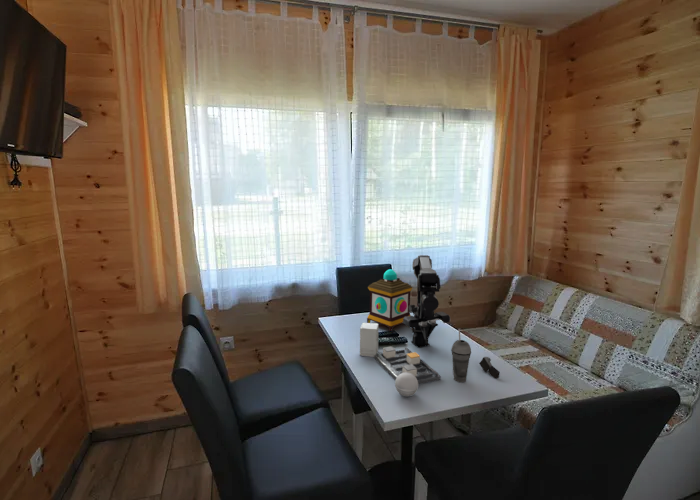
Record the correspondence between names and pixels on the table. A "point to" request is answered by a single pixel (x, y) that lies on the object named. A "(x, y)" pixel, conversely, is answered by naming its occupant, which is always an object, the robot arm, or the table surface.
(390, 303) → the decorative lantern
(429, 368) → the panel
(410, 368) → the breaker near
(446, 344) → the table surface
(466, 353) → the beverage cup
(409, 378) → the bath bomb
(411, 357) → the block
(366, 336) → the supplement box
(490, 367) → the black bow tie
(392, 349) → the breaker far
